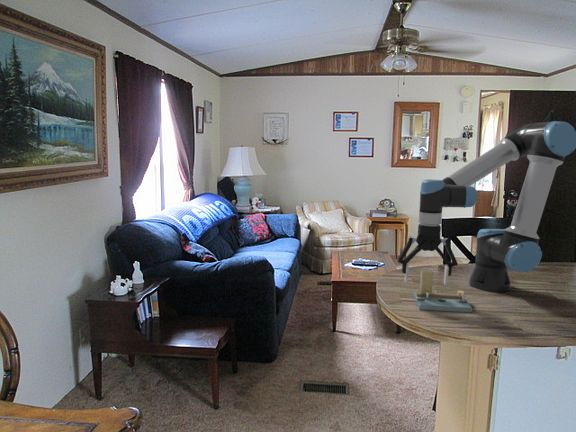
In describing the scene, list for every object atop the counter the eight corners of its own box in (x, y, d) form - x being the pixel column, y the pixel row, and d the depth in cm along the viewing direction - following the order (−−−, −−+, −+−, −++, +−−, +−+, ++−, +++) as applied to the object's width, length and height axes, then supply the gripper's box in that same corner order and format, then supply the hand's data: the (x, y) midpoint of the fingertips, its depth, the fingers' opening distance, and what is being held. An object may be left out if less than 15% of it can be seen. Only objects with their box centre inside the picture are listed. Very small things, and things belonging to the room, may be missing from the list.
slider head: (429, 294, 164) (431, 269, 163) (432, 299, 158) (434, 274, 157) (419, 293, 165) (420, 269, 163) (422, 299, 158) (423, 274, 157)
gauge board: (461, 298, 166) (462, 287, 165) (471, 312, 152) (472, 300, 151) (413, 296, 168) (413, 285, 167) (419, 309, 154) (419, 297, 153)
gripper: (464, 224, 161) (459, 282, 164) (392, 221, 164) (388, 278, 167) (469, 227, 153) (464, 288, 157) (394, 224, 156) (390, 284, 160)
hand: (425, 283), depth 162 cm, fingers open, 13 cm apart
